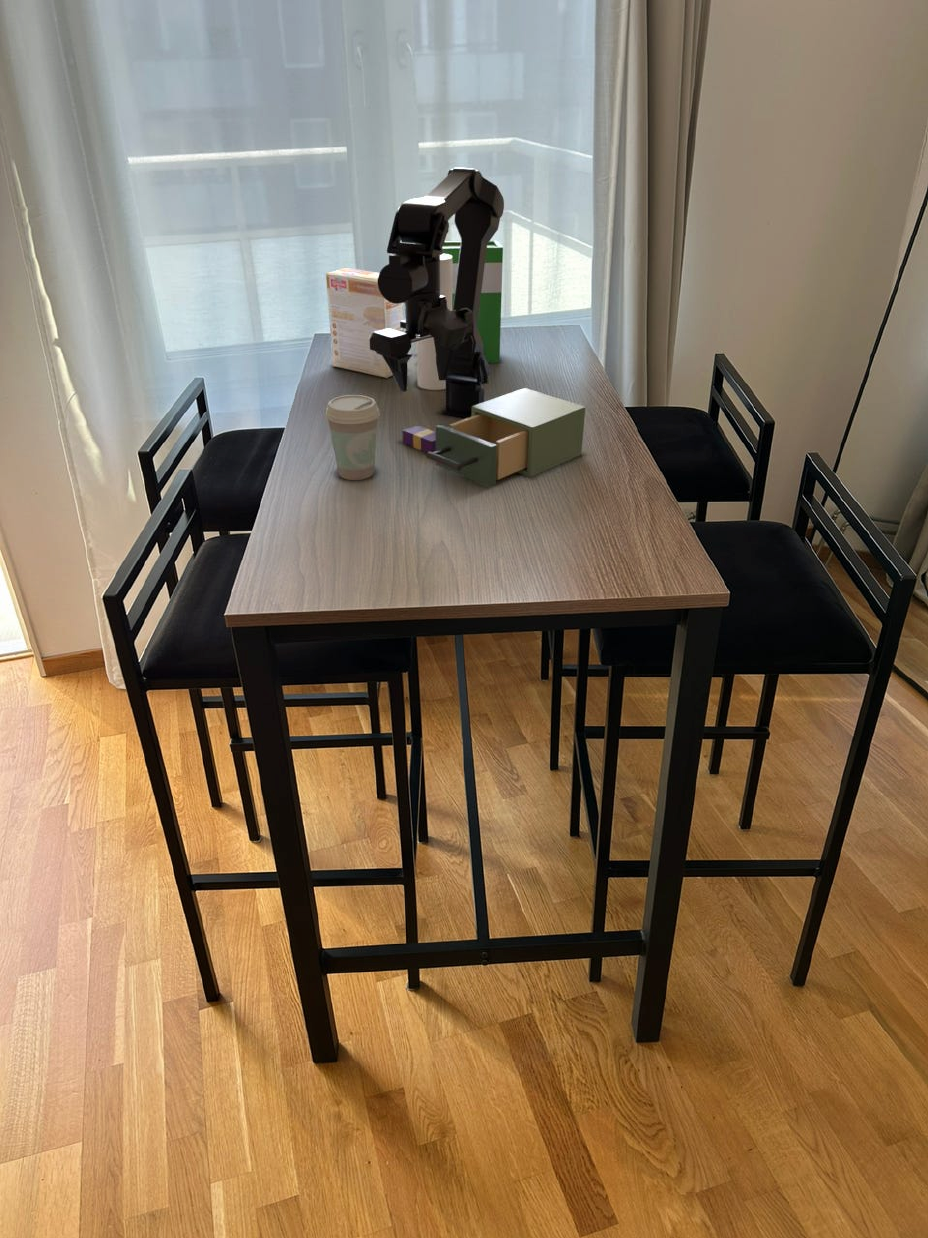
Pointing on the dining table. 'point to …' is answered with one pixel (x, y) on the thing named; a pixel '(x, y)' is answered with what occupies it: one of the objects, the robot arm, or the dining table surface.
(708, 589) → the dining table surface
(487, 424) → the drawer
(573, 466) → the dining table surface
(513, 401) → the cabinet
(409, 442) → the chocolate bar
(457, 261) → the green white box
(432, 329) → the robot arm
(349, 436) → the coffee cup
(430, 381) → the cylindrical container
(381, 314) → the coffeecake box
